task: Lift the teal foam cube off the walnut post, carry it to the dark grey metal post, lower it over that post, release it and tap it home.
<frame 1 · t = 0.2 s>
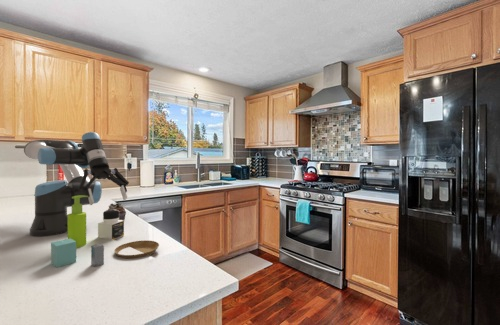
hand: (109, 201, 107), 16 cm above the counter, tool tilted 35°, fingers open, 13 cm apart
post grey: (97, 267, 77), on the counter
cupcake: (116, 222, 133), on the counter
soap dispenser: (78, 247, 94), on the counter
medicine bottle: (111, 238, 106), on the counter
plant saucer: (137, 254, 89), on the counter
post walnut: (63, 265, 78), on the counter
teal foam cube: (63, 262, 78), point 1 cm above the counter, touching post walnut
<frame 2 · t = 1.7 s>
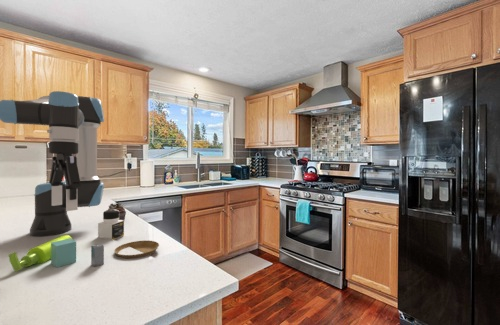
hand: (64, 207, 78), 19 cm above the counter, tool pointing down, fingers open, 13 cm apart
soap dispenser: (65, 241, 91), point 3 cm above the counter
everything else where it was.
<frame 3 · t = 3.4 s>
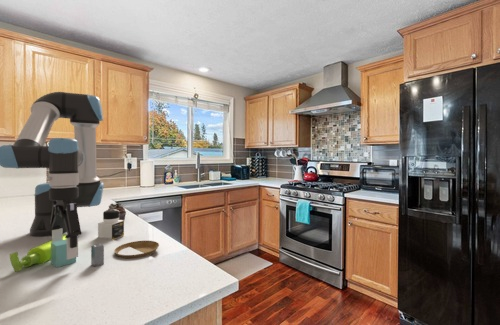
hand: (64, 253, 78), 4 cm above the counter, tool pointing down, fingers open, 13 cm apart
soap dispenser: (65, 241, 91), point 3 cm above the counter, touching gripper
everything else where it was.
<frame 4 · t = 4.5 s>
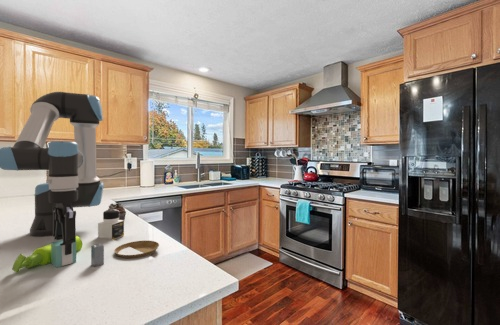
hand: (63, 261, 78), 1 cm above the counter, tool pointing down, fingers closed on teal foam cube, 5 cm apart
soap dispenser: (76, 242, 90), point 3 cm above the counter, touching gripper
teal foam cube: (63, 262, 78), point 1 cm above the counter, touching gripper, post walnut
everything else where it was.
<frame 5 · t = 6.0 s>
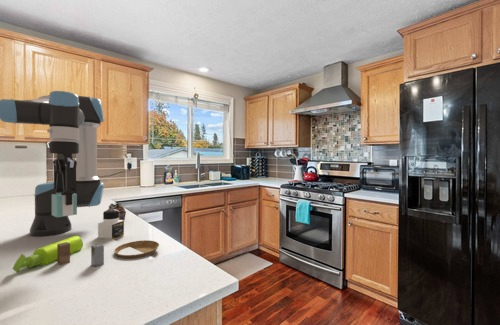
hand: (64, 213, 78), 17 cm above the counter, tool pointing down, fingers closed on teal foam cube, 5 cm apart
soap dispenser: (77, 242, 90), point 3 cm above the counter
teal foam cube: (64, 214, 78), point 16 cm above the counter, touching gripper
everything else where it was.
when the fingers open (3 cm above the counter, at t = 9.4 s): teal foam cube drops 1 cm, resting on post grey.
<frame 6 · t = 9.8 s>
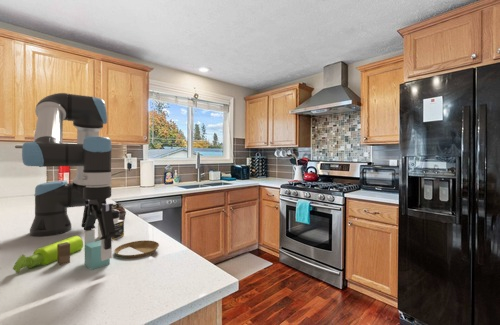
hand: (97, 254, 77), 4 cm above the counter, tool pointing down, fingers open, 11 cm apart
teal foam cube: (97, 264, 77), point 1 cm above the counter, touching post grey
everything else where it was.
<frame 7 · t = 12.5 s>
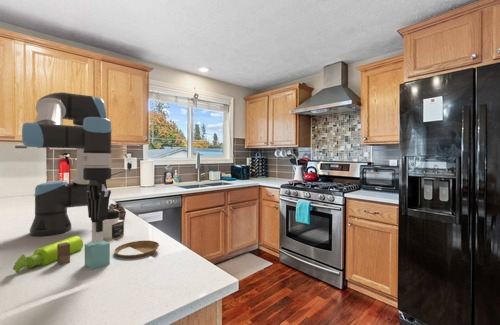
hand: (97, 241, 77), 8 cm above the counter, tool pointing down, fingers closed
nothing on the counter moved.
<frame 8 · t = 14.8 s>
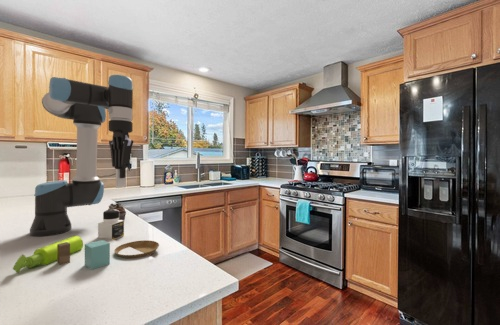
hand: (120, 187, 86), 24 cm above the counter, tool pointing down, fingers closed
nothing on the counter moved.
at the end: teal foam cube 0.1 cm from the post grey (horizontally); teal foam cube point 1.0 cm above the counter; the gripper is holding nothing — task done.
